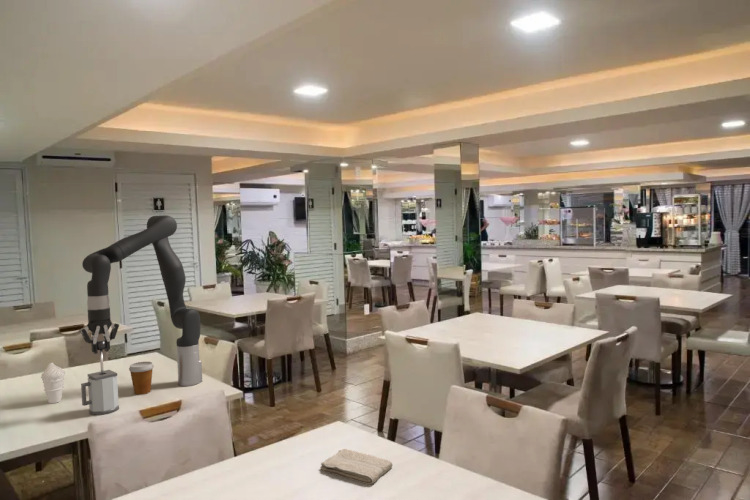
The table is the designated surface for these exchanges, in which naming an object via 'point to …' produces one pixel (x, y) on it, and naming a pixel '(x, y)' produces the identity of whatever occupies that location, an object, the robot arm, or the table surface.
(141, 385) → the disposable coffee cup
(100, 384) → the carafe
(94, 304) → the robot arm
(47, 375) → the soft serve ice cream cone
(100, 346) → the plunger
